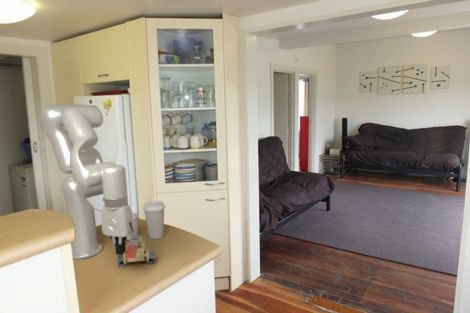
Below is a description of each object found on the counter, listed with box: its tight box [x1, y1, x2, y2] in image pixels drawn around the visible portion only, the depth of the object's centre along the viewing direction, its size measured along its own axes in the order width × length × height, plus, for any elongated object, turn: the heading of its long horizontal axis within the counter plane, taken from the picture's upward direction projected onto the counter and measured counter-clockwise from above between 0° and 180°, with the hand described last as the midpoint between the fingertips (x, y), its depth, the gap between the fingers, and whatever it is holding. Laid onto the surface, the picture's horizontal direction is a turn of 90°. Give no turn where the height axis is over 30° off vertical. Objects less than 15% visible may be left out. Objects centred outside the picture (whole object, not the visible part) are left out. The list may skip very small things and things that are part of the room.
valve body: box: [117, 240, 157, 268], centre depth 124 cm, size 13×6×8 cm, turn 99°
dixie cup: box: [126, 212, 140, 241], centre depth 148 cm, size 8×8×10 cm
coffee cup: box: [142, 200, 166, 240], centre depth 149 cm, size 10×10×15 cm
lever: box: [126, 234, 143, 259], centre depth 118 cm, size 4×15×2 cm, turn 9°
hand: (120, 253), depth 116 cm, fingers closed
